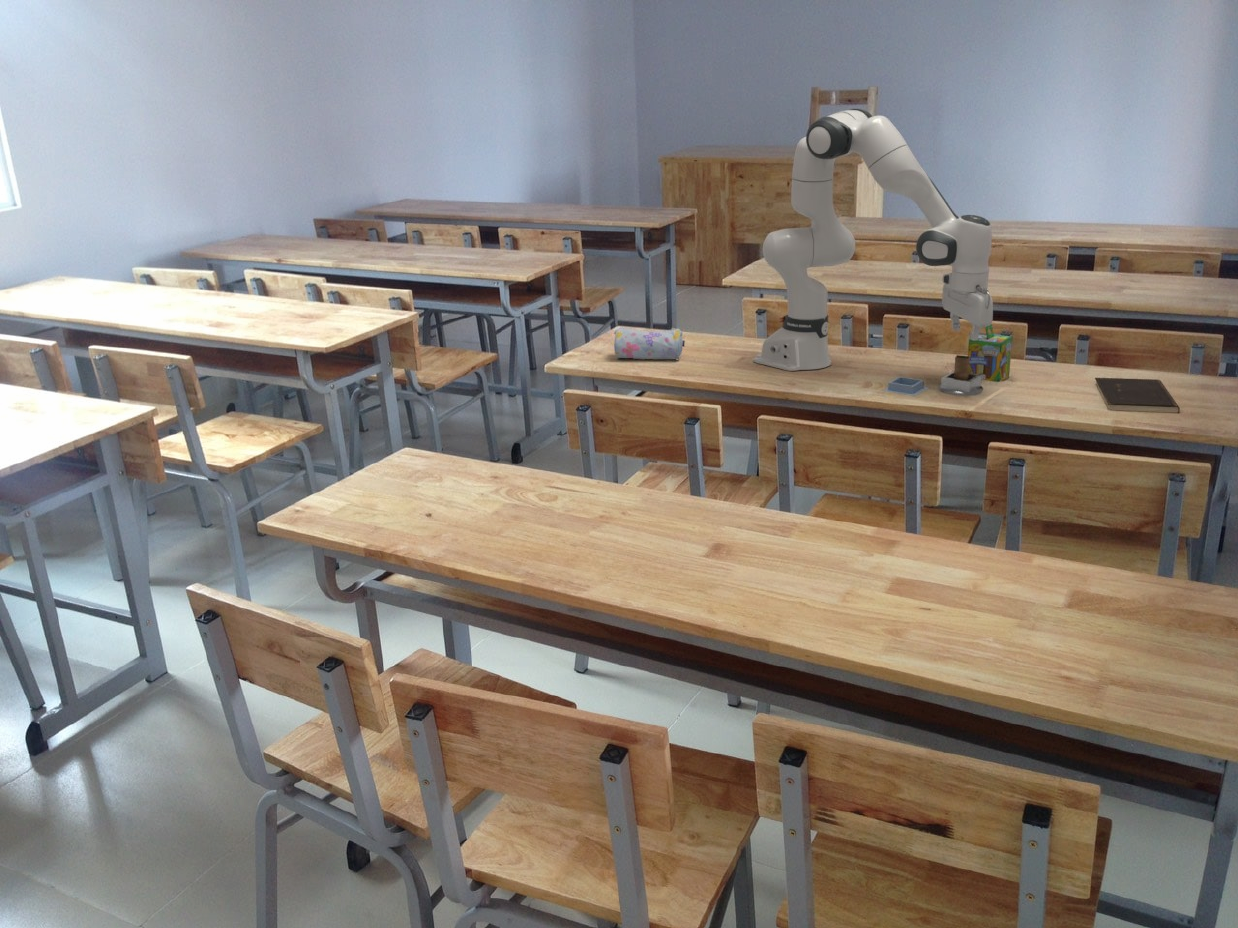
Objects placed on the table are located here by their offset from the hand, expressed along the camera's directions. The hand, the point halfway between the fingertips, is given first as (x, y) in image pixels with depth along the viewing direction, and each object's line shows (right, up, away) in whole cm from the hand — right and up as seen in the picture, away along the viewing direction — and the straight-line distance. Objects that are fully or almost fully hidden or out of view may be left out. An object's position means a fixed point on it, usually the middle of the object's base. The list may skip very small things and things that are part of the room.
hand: (964, 335), depth 277 cm
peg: (0, -13, +4) cm, 14 cm away
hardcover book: (+42, -17, -4) cm, 45 cm away
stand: (-13, -14, +7) cm, 21 cm away
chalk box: (+11, -10, +16) cm, 22 cm away
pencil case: (-80, -2, +48) cm, 93 cm away
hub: (0, -15, +5) cm, 15 cm away
